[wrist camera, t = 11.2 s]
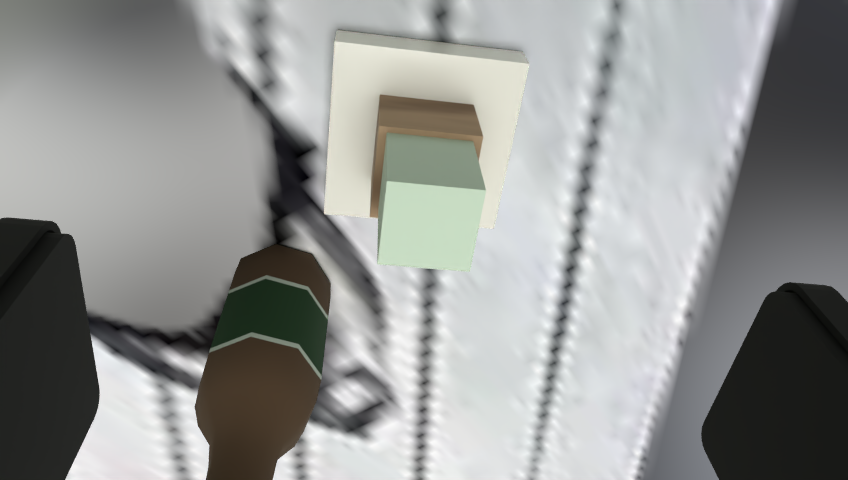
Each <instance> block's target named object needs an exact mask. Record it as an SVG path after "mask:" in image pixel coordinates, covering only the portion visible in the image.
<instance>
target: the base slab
mask: <svg viewBox="0 0 848 480" xmlns="http://www.w3.org/2000/svg"><path fill="white" fill-rule="evenodd" d="M528 69H529V62H528V60H527V58H526V57H525V55H524V53H523V52H521V51H512V50H504V49H495V48H487V47H478V46H470V45H461V44H453V43H444V42H436V41H427V40H419V39H410V38H402V37H393V36H385V35H376V34H368V33H359V32H351V31H342V30H337V32H336V37H335V41H334V57H333V74H332V90H331V106H330V123H329V139H328V155H327V172H326V188H325V204H324V214H330V215H342V216H353V217H364V218H375V217H370V197H371V176H372V166H373V156H374V146H375V136H376V126H377V116H378V107H379V97H380V95H389V96H398V97H408V98H417V99H426V100H435V101H445V102H454V103H463V104H472V105H474V107H475V110H476V114H477V117H478V120H479V124H480V127H481V130H482V134H483V141H482V146H481V152H480V157H479V165H480V169H481V173H482V176H483V180H484V184H485V188H486V194H485V199H484V204H483V209H482V214H481V219H480V224H479V228H490V229H494V226H495V221H496V217H497V212H498V208H499V203H500V198H501V194H502V189H503V184H504V180H505V175H506V171H507V166H508V161H509V157H510V152H511V147H512V143H513V138H514V134H515V129H516V124H517V120H518V115H519V110H520V106H521V101H522V97H523V92H524V87H525V83H526V78H527V73H528ZM376 219H378V218H376Z"/></svg>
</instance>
